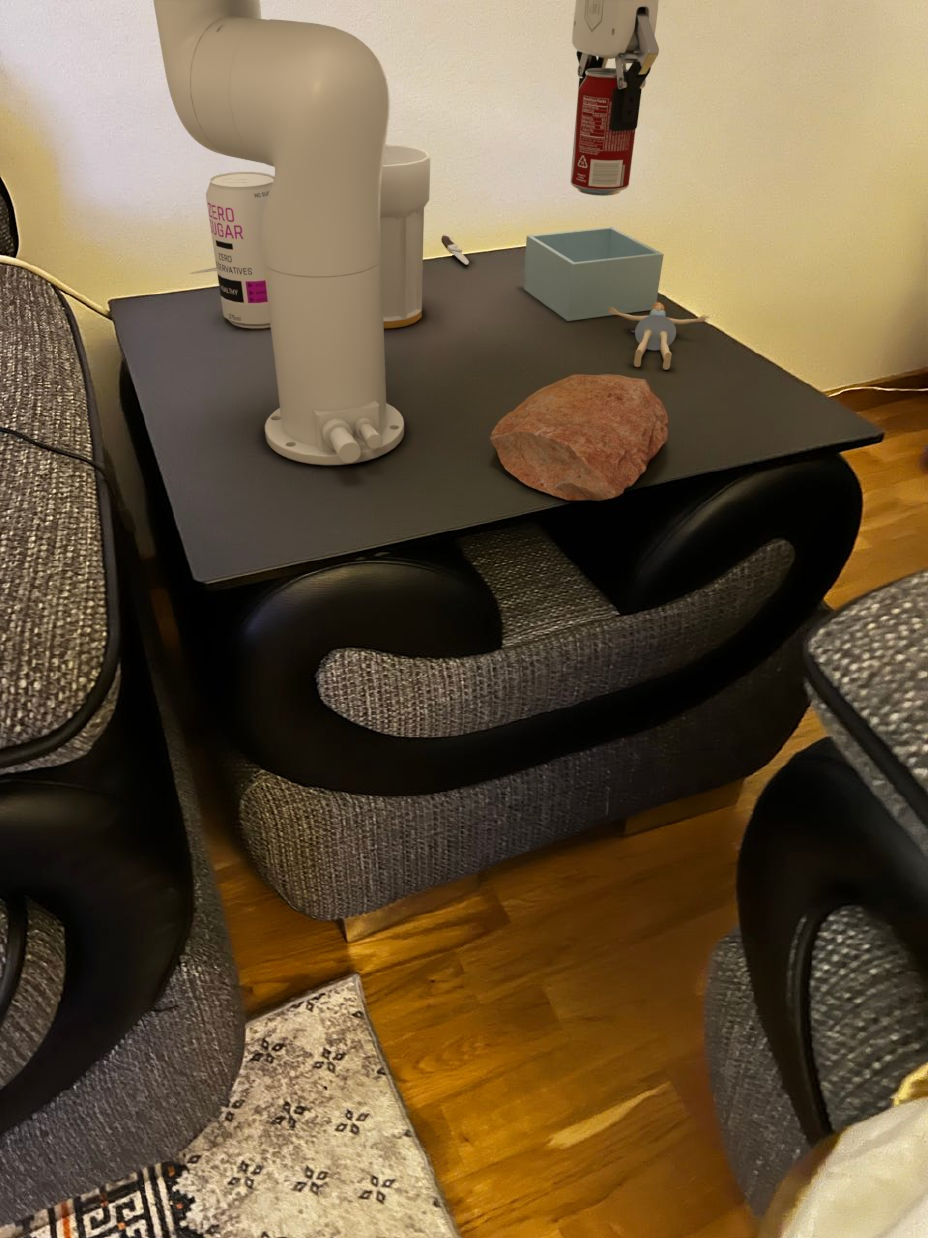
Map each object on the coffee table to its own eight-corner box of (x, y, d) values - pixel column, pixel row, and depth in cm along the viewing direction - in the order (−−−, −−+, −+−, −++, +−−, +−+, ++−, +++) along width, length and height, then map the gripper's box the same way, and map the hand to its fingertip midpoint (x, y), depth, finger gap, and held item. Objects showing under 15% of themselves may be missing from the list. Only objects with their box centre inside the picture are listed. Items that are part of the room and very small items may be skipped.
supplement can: (301, 307, 109) (289, 171, 100) (284, 332, 103) (269, 189, 93) (236, 303, 110) (217, 168, 100) (214, 328, 103) (192, 186, 94)
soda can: (626, 199, 102) (641, 76, 95) (567, 195, 103) (577, 73, 96) (628, 185, 108) (643, 68, 100) (572, 181, 109) (582, 65, 101)
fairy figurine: (601, 332, 95) (610, 283, 103) (596, 374, 98) (605, 323, 106) (712, 342, 93) (712, 292, 102) (704, 384, 97) (705, 331, 105)
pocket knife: (449, 240, 133) (436, 238, 132) (451, 234, 132) (438, 232, 132) (472, 269, 123) (458, 266, 122) (474, 262, 122) (460, 260, 121)
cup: (329, 302, 111) (317, 144, 100) (419, 296, 113) (417, 141, 102) (344, 335, 102) (333, 167, 91) (441, 328, 105) (442, 163, 94)
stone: (558, 411, 92) (464, 485, 77) (560, 353, 89) (462, 419, 74) (694, 432, 86) (621, 516, 71) (701, 371, 83) (626, 446, 68)
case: (655, 309, 111) (663, 253, 107) (567, 321, 107) (572, 263, 103) (606, 279, 120) (612, 226, 116) (523, 289, 116) (526, 235, 112)
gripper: (553, -80, 95) (541, 111, 106) (639, -77, 83) (615, 140, 94) (615, -79, 98) (597, 108, 109) (708, -75, 85) (676, 136, 96)
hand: (605, 122), depth 101 cm, fingers closed on soda can, 6 cm apart
